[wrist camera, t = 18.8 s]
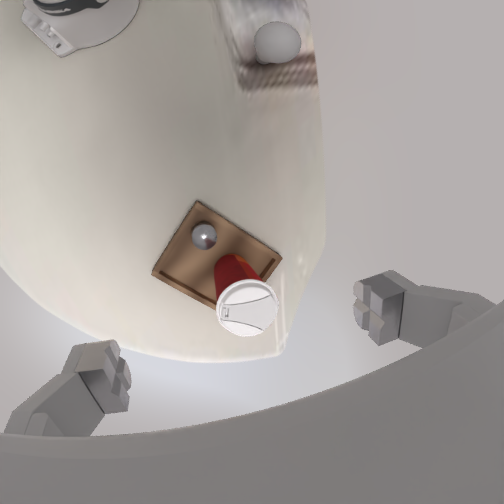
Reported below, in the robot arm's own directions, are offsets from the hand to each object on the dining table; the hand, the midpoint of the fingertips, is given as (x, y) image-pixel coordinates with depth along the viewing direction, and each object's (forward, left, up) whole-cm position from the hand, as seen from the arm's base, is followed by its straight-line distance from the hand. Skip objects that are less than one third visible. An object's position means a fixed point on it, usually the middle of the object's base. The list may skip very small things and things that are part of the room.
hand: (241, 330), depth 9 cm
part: (+5, -5, -36) cm, 37 cm away
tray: (+9, -8, -37) cm, 39 cm away
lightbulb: (-4, +23, -37) cm, 44 cm away
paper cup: (+12, -7, -37) cm, 39 cm away
